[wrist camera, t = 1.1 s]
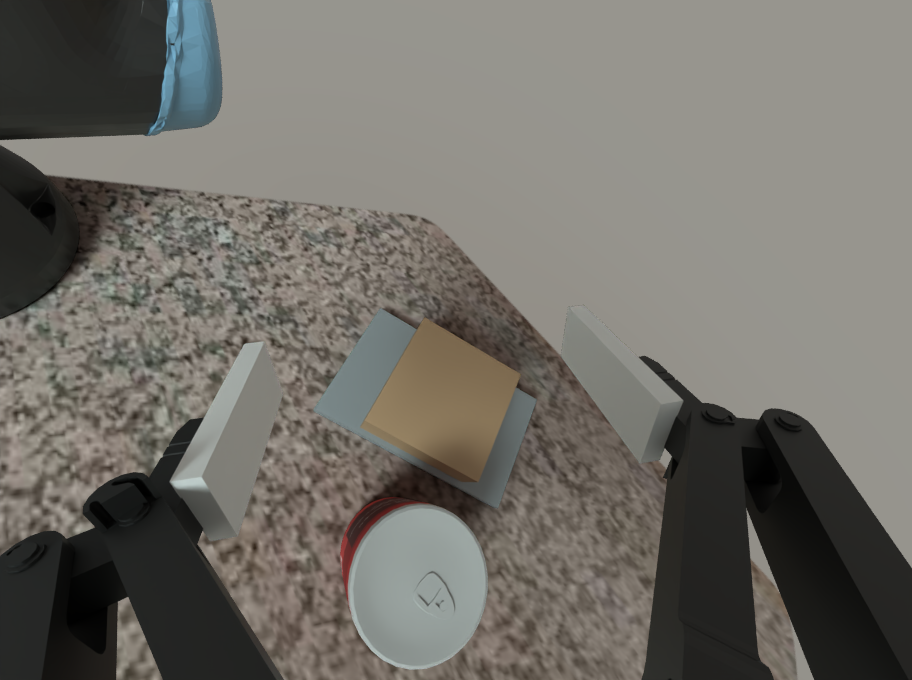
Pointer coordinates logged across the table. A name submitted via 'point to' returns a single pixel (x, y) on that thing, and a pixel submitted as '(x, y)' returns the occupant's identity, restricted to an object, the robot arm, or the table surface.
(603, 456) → the table surface
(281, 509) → the table surface
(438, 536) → the canned food
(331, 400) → the plinth
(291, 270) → the table surface
